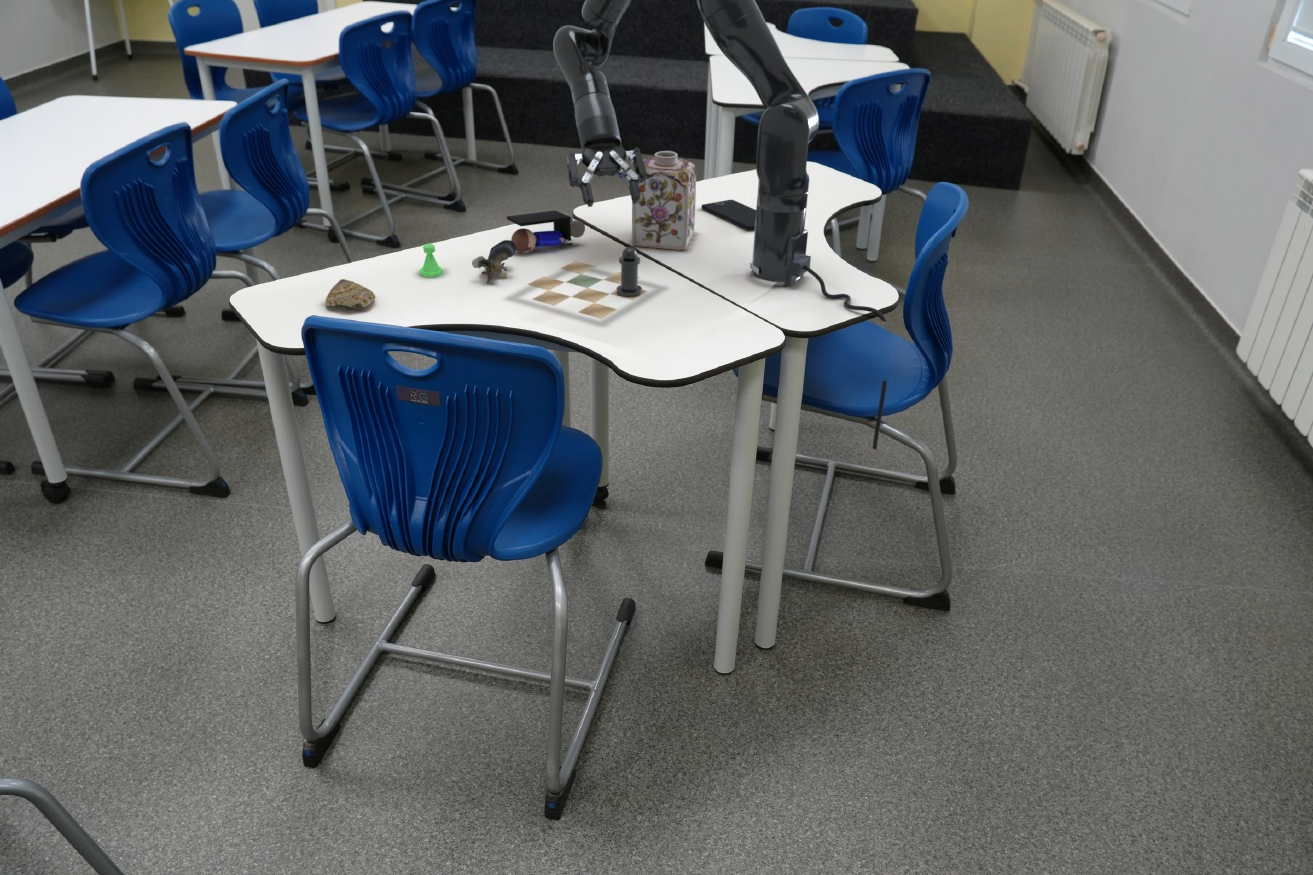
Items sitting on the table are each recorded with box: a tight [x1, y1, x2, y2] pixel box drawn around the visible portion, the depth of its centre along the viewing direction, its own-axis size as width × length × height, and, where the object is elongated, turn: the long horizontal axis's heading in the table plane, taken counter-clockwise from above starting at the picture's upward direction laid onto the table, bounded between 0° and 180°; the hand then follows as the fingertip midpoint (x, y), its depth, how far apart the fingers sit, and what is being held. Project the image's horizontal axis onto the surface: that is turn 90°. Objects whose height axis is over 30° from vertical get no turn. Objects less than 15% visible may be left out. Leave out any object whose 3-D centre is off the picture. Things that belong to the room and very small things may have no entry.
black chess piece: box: [616, 246, 643, 298], centre depth 175 cm, size 5×5×8 cm
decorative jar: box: [631, 150, 698, 251], centre depth 200 cm, size 12×12×18 cm
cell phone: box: [701, 199, 756, 231], centre depth 219 cm, size 9×18×1 cm, turn 33°
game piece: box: [419, 242, 444, 279], centre depth 184 cm, size 4×4×6 cm
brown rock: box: [325, 278, 377, 310], centre depth 171 cm, size 8×6×8 cm
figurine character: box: [506, 209, 586, 254], centre depth 198 cm, size 7×8×15 cm
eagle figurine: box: [471, 239, 517, 285], centre depth 184 cm, size 8×7×9 cm
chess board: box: [527, 260, 649, 320], centre depth 179 cm, size 20×20×1 cm
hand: (613, 203), depth 179 cm, fingers open, 8 cm apart
